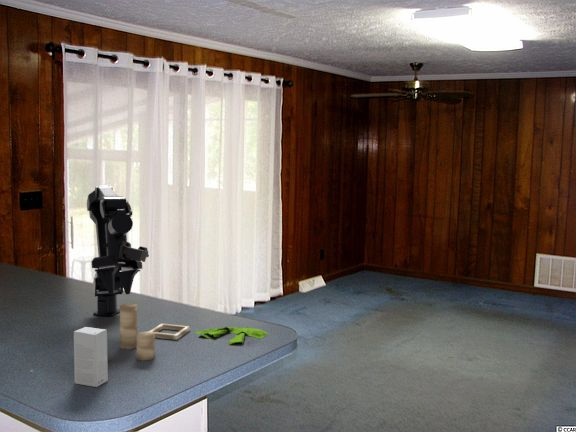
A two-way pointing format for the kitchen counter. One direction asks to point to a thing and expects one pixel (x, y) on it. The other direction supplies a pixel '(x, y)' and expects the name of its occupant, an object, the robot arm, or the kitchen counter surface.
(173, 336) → the birch collar
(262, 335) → the cloth
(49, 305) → the kitchen counter surface
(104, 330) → the skincare box
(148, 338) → the short beech pin
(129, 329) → the tall beech pin
